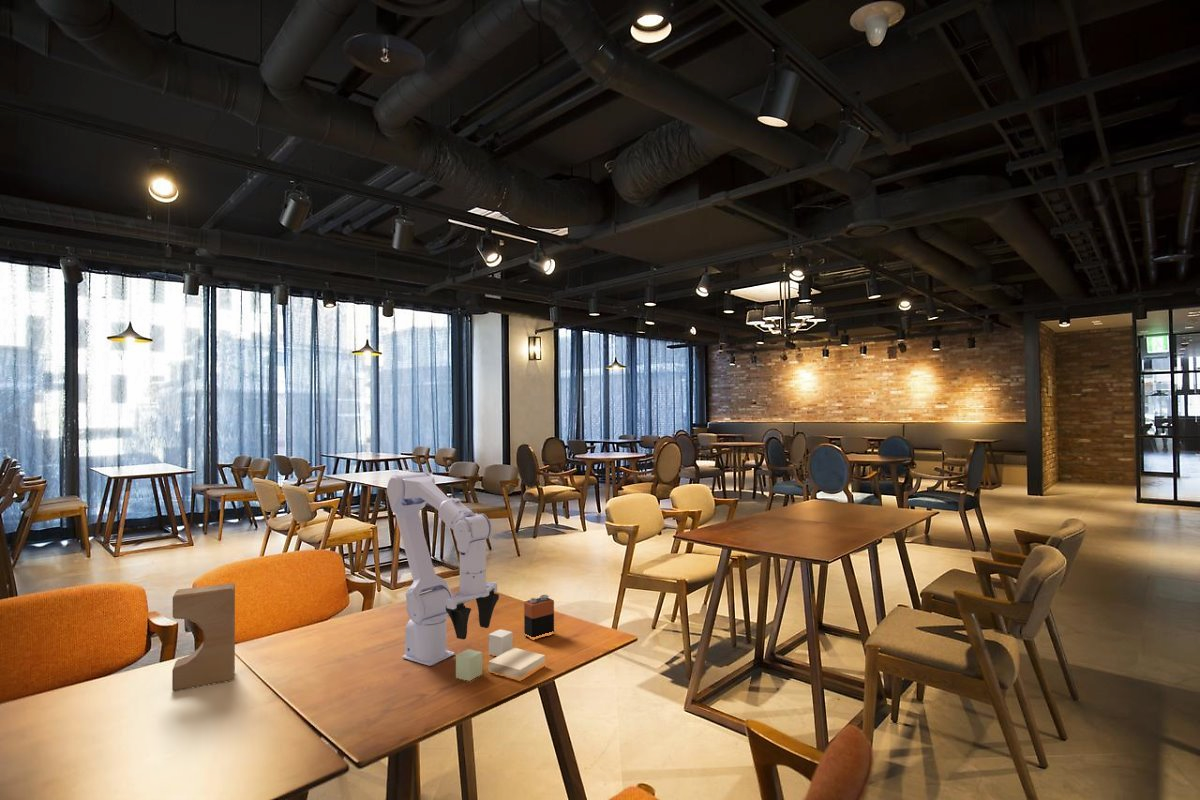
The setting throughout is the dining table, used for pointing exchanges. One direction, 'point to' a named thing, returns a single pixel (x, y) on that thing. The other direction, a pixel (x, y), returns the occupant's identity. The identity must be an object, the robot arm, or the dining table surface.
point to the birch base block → (515, 662)
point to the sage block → (468, 664)
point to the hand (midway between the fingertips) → (473, 632)
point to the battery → (538, 616)
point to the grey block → (500, 642)
